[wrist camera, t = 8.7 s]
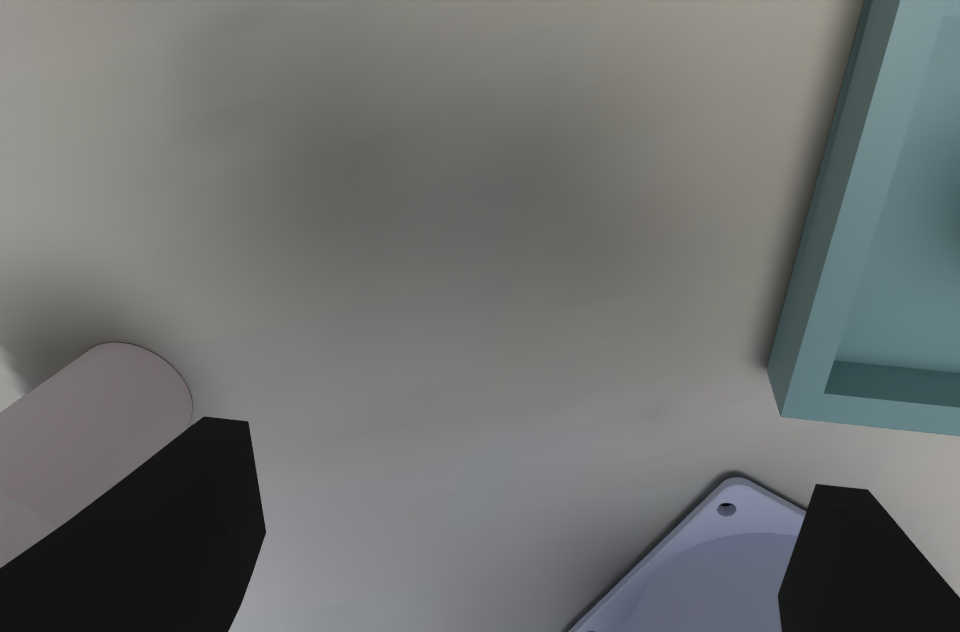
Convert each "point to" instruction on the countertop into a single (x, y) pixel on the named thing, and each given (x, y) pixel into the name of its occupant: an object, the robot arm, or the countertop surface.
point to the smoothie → (83, 437)
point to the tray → (882, 237)
